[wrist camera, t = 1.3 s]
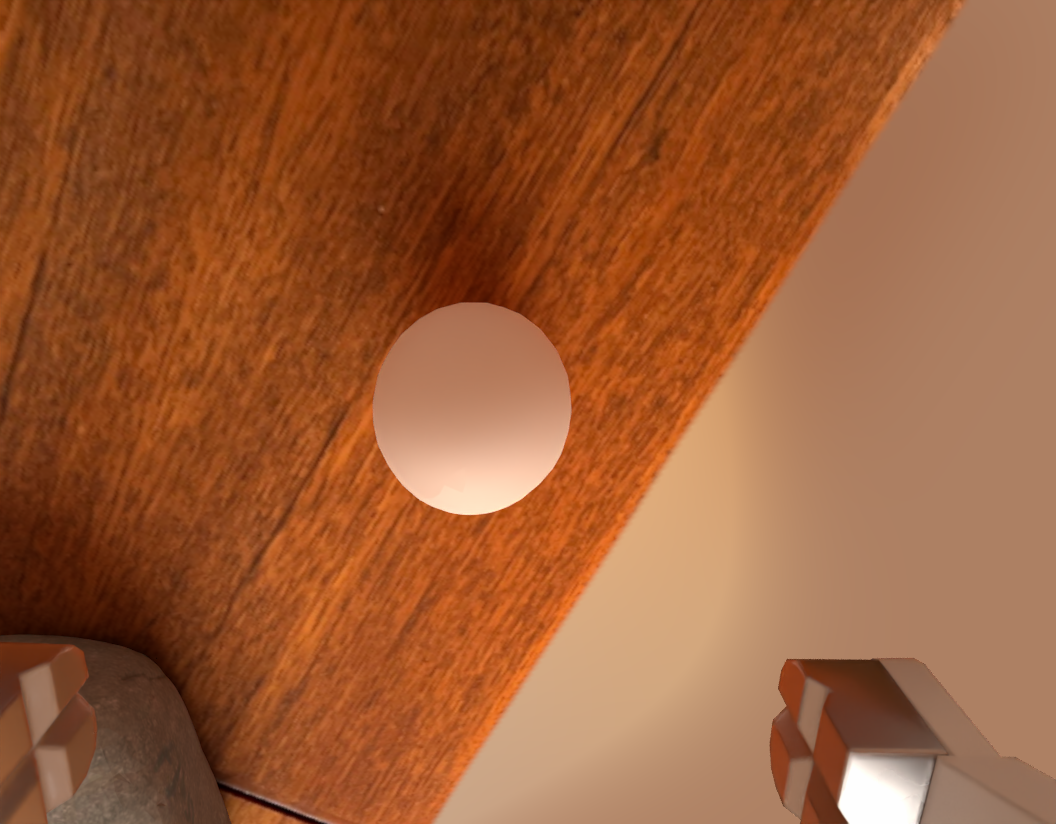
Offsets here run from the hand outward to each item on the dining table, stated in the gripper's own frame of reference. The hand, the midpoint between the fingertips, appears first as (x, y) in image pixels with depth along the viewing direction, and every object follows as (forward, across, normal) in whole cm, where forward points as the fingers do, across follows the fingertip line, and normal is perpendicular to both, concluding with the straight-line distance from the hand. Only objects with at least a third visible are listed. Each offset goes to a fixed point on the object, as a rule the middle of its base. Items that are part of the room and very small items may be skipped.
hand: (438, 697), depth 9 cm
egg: (+14, 0, 0) cm, 14 cm away
